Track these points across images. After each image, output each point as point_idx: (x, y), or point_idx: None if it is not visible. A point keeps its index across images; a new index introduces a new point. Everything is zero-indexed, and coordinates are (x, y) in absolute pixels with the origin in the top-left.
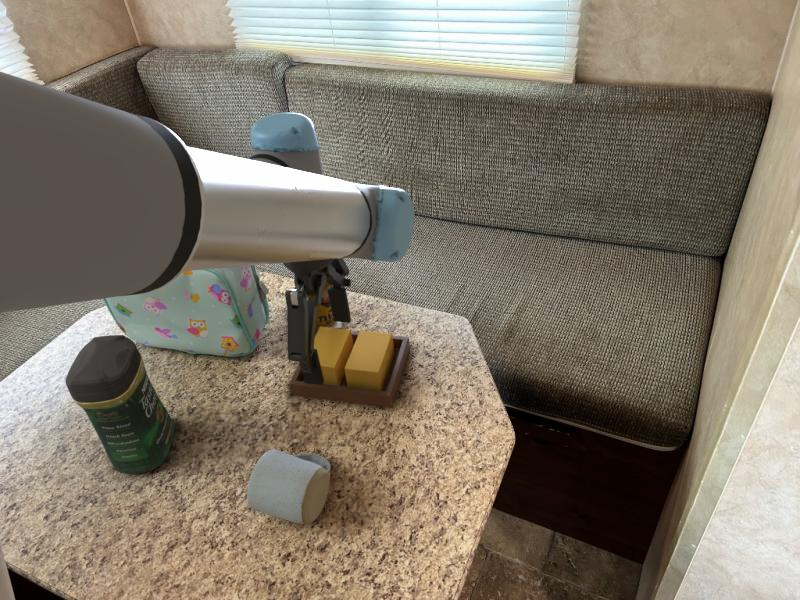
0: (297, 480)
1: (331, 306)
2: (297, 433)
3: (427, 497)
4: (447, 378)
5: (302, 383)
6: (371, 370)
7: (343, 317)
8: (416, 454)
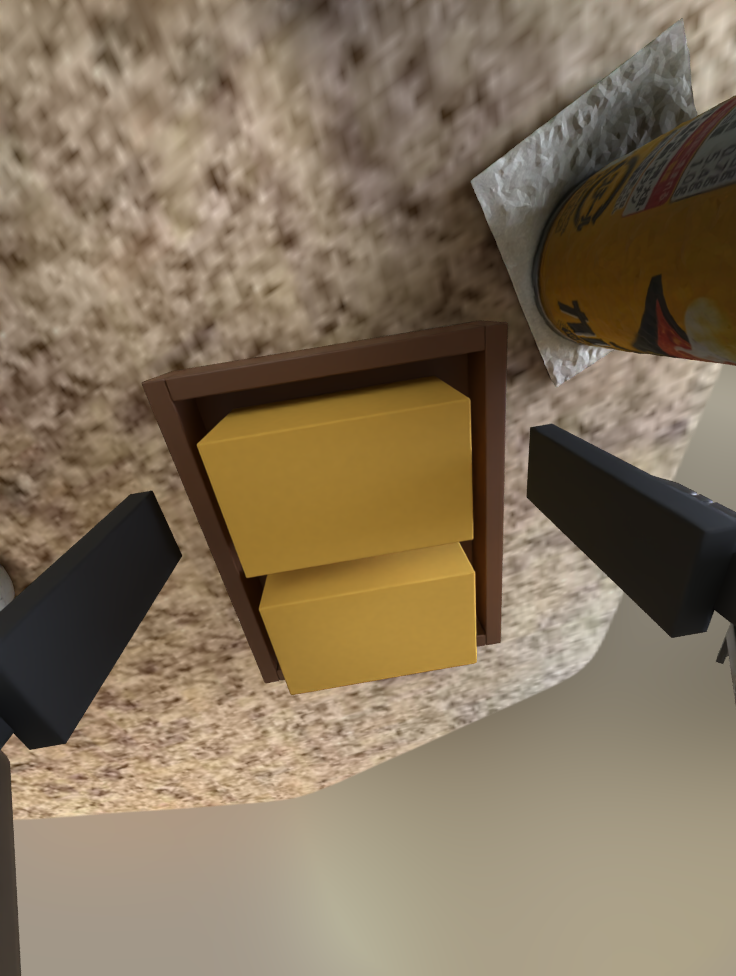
0: None
1: (588, 464)
2: (51, 474)
3: (108, 758)
4: (403, 697)
5: (175, 437)
6: (290, 677)
7: (542, 487)
8: (183, 718)
